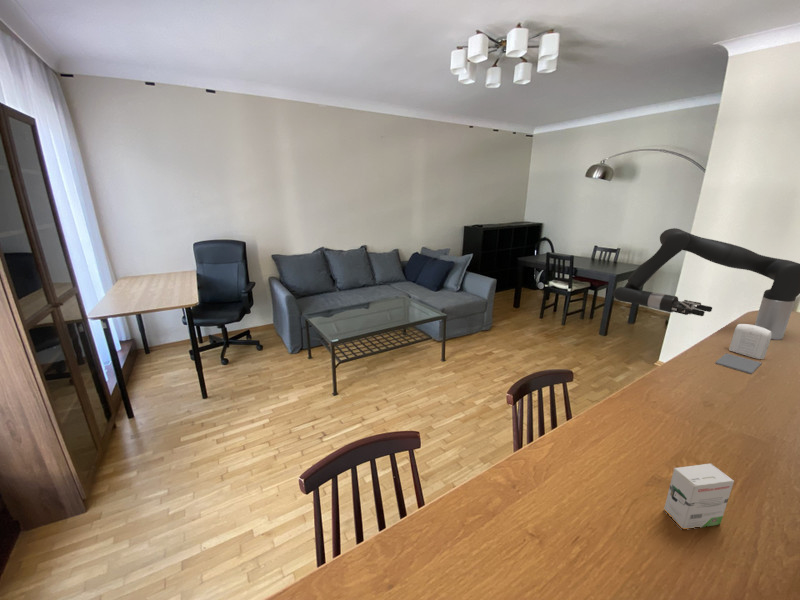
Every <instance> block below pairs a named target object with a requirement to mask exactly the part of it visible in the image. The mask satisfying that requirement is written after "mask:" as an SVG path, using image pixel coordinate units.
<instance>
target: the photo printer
mask: <svg viewBox="0 0 800 600" xmlns="http://www.w3.org/2000/svg"><path fill="white" fill-rule="evenodd" d="M771 334H772V332H771V331H769V330H767V329H765V328H762V327H759V326H756V325H755V324H748V323H738V324H737V325H736V327H735V328H734V330H733V335H732V338H731V341H730V345H729V347H728V350H729V352H733V353H736V354H739V355H743V356H745V357H750V358H753V359H757V360H760V359H763V360H764V359H765V358H766V355H767V351H768V349H769V345H770V343H771V340H772V339H771V336H772V335H771Z"/></svg>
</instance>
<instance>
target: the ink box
mask: <svg viewBox="0 0 800 600" xmlns="http://www.w3.org/2000/svg"><path fill="white" fill-rule="evenodd" d="M734 483H735V480H734V479H732V478H731V477H730V476H728V475H727V474H726V473H725V472H723V470H721V469H719V468H718V467H717V466H715V465H714V464H713V463H711V462H710V463H704V464H703V463H702V464H695V465H688V466H680V467H674V468H673V472H672V476H671V479H670V484H669V488H668V492H667V496H666V501H665V504H664V508H663V510H664V509H665V510H666V511H667V512H668V513H669V514H670V515H671V516H672V517H673V519H674V520H675V521H676V522H677V523H678V524H679V525H680V526H681V527H682V528H694V527H700V528H706V526H707V527H713V526H719V524H720V525H721V523H722V520H723V518H724V514H725V511H726V507H727V504H728V501H729V498H730V495H731V491H732V489H733V486H734ZM694 529H695V528H694Z"/></svg>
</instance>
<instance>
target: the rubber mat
mask: <svg viewBox="0 0 800 600" xmlns="http://www.w3.org/2000/svg"><path fill="white" fill-rule="evenodd" d="M715 363H716V364H715ZM714 364H715V365H718V364H719V365H718V366H721V365H722V367H725V368H729V369H732V370H736V371H738V370H739V371H740V372H741V373H746V374H749V375H752V374H753V373H754V372H756V370H757V369H758V368H759V367H760V366H761V365H762V362H760V361H757V360H752V359H748V358H745V357H742V356H738V355H734V354H732V353H731V354H730V353H725V354H723V355H721V357H720V358H718V359H717V360H716V361H715V362H714Z"/></svg>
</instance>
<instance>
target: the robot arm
mask: <svg viewBox="0 0 800 600" xmlns="http://www.w3.org/2000/svg"><path fill="white" fill-rule="evenodd" d="M659 242H660V244H661V246H660V247H659V249H657V251H655V252H656V253H655V254H653V255H652V256H651V257H650V258H648V259H647V260H645V261H644V262H642V263H641V264H640V265H639V266H638V267H637V268H636V269H635V270H634V271H633V272H632V273H631V274H630V276H629V277H628V278H627V282H626V284H625V285H624V286H619V287H616V288H614V290H613V291H612V296H613V298H614V299H615V300H617V301H619V302H623V303H624V302H625V303H630V304H635V305H640V306H644V307H648V308H651V309H654V310H659V311H663V312H667V313H676V314H681V315H684V316H688V315H694V316H700V317H704V316H705V313H706V312H708V313H711V312H712V311H713V307H712V306H709V305H705V304H702V303H701V301H700V302H698V301H692V300H688V299H684V300H683V301H679V297H678V296H676V295H672V294H671V295H670V294H665V293H660V292H652V291H648V290H647V291H646V290H641V288H642V287H643V286H644V285H645V284H646V283H647V282H648V281H649V280H650V279H651V278H652V277H653V276H654V275H655V273H657V271H659V270H660V269H661V268H662V267H663V266H664V265H665V264H667V263H668V262H669V261H670V260H672V259H673V257H675V256H676V255H678V254H679V253H680V252H681V251H685V252H689V253H692V254H694V255H695V256H698V257H700V258H702V259H703V260H704V259H705V260H707V261H709V262H711V263H714V264H717V265H720V266H724V267H728V268H730V269H731V268H732V269H737V270H745V271H750V272H754V273H756V274H758V275H762V276H764V277H767V279H770V280H772V281H773V282H772V284H771V287H770V288H769V289H766V290H764V291H763V295H762V298H761V300H760V301H761V302H760V306H759V309H758V313H757V315H756V319H755V323H754V325H756V326H759V327H762V328H765V329H767V330H769V331H771V332H772V334H771V335H772V336H771V340H777V341H778V340H779V341H780V340H782V339H783V338H784V336H785V334H786V333H785V332H786V330H787V327H788V324H789V321H790V318H791V314H792V312H793V308H794V305H795V302H796V300H797V299H796V298H797V297H798V296H799V295H800V263H798V262H797V261H793V260H788V259H782V258H777V257H776V258H775V257H772V256H771V257H770V256H766V255H762V254H759V253H757V252H755V251H752V250H751V249H748V248H745V247H742V246H739V245H736V244H732V243H729V242H728V243H727V242H724V241H720V240H716V239H713V238H712V239H711V238H707V237H702V236H699V235H695V234H692V233H691V232H690V233H689V232H687V231H685V230H682V229H680V228H677V227H676V228H675V227H673V228H668V229H666V230H664V231H662V233H660V236H659Z"/></svg>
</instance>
